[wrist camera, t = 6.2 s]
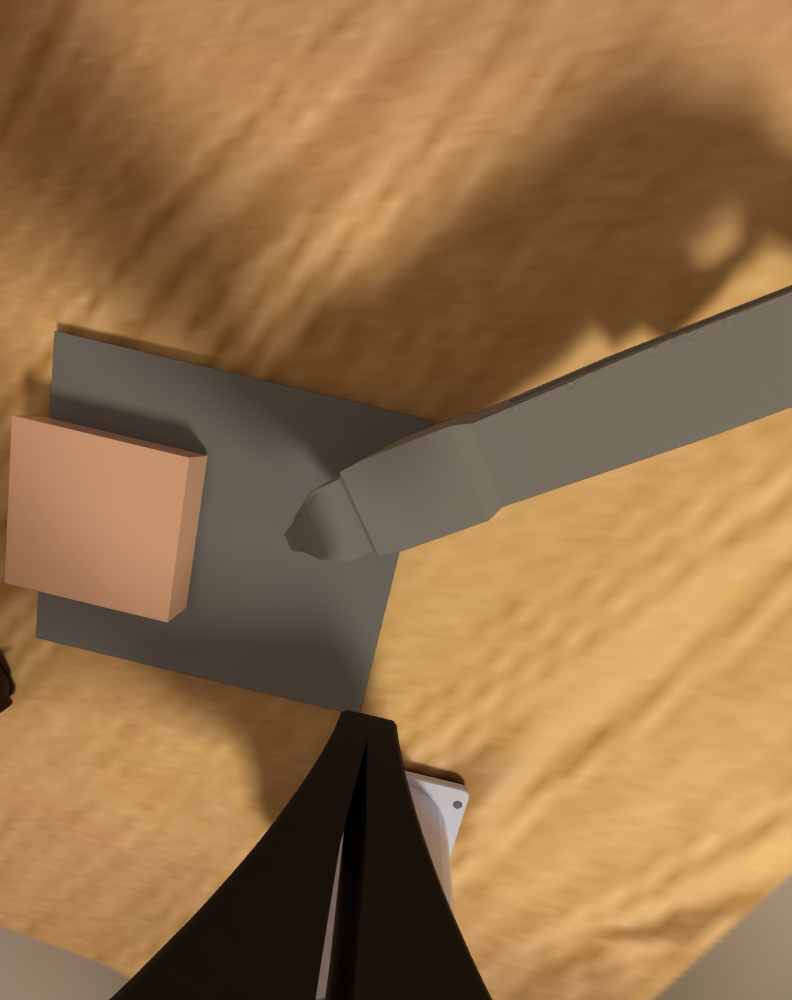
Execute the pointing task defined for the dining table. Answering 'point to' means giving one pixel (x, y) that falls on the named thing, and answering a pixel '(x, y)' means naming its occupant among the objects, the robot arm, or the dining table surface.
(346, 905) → the robot arm
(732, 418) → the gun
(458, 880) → the dining table surface
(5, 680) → the door handle
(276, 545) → the mat
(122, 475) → the tile
